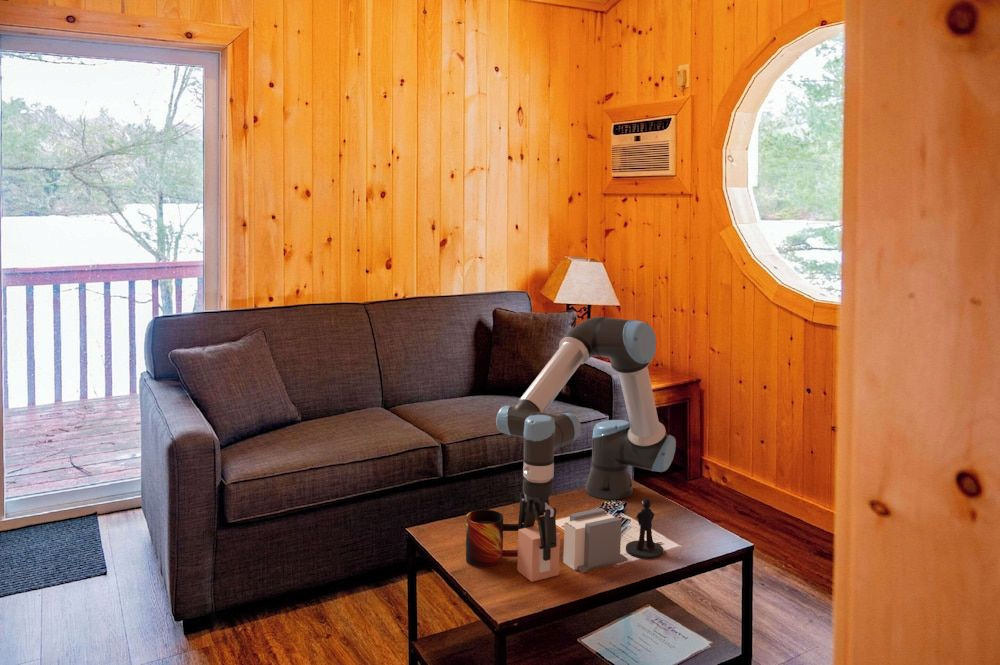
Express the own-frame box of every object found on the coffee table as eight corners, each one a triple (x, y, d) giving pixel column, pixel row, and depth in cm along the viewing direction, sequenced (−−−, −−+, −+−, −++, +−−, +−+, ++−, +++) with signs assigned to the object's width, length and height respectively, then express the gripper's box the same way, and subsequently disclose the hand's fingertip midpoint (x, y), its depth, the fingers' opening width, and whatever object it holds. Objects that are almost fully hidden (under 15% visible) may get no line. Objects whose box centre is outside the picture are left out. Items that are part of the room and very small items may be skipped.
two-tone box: (606, 548, 227) (608, 506, 225) (627, 561, 219) (629, 517, 217) (559, 559, 219) (560, 516, 217) (578, 573, 212) (580, 528, 210)
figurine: (656, 542, 231) (658, 491, 229) (668, 558, 221) (671, 504, 219) (621, 544, 230) (623, 492, 227) (632, 560, 220) (634, 506, 217)
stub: (544, 563, 216) (545, 523, 214) (558, 574, 210) (560, 533, 208) (517, 570, 212) (518, 529, 210) (531, 581, 206) (532, 539, 204)
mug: (523, 560, 218) (524, 517, 216) (475, 571, 212) (476, 526, 210) (506, 546, 227) (506, 504, 225) (459, 556, 221) (460, 513, 219)
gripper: (505, 468, 213) (503, 552, 217) (546, 493, 196) (544, 584, 200) (530, 463, 217) (528, 547, 221) (573, 488, 200) (570, 577, 204)
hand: (536, 564), depth 210 cm, fingers closed on stub, 7 cm apart
